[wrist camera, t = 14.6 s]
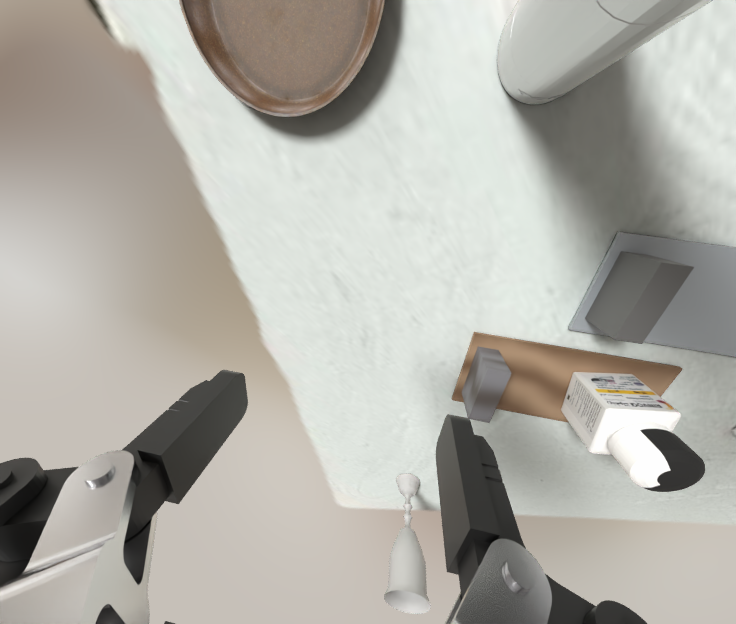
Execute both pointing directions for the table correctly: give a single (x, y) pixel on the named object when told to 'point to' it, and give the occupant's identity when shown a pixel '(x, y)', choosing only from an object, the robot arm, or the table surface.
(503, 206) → the table surface
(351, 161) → the table surface
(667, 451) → the container
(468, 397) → the brown board
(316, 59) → the plant saucer
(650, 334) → the grey board with block
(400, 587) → the chalice
